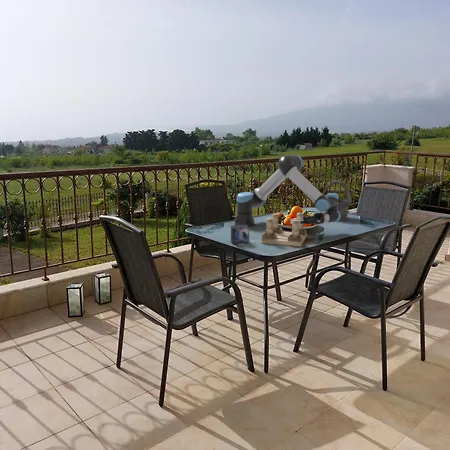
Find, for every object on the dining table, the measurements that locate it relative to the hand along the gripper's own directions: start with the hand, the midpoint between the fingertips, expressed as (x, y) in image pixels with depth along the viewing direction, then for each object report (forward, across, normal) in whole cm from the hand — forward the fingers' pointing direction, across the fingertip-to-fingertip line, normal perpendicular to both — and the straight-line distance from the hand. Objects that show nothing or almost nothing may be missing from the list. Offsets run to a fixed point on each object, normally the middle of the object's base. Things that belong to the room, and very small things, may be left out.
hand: (293, 222), depth 254 cm
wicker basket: (-71, +33, -11) cm, 80 cm away
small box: (+33, +10, -11) cm, 37 cm away
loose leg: (-5, 0, -7) cm, 9 cm away
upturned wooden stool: (+6, +1, -11) cm, 13 cm away
